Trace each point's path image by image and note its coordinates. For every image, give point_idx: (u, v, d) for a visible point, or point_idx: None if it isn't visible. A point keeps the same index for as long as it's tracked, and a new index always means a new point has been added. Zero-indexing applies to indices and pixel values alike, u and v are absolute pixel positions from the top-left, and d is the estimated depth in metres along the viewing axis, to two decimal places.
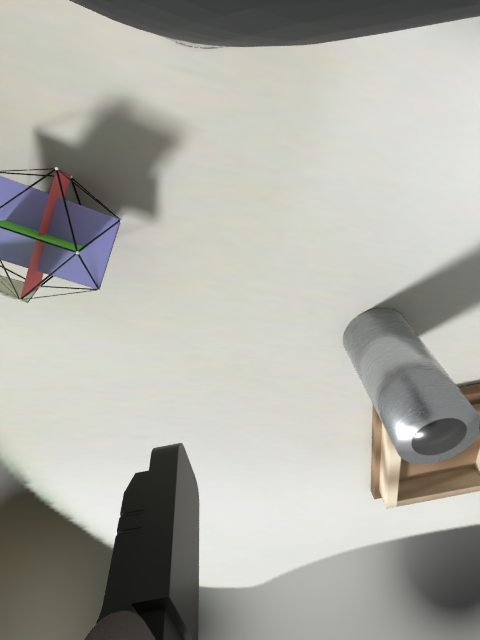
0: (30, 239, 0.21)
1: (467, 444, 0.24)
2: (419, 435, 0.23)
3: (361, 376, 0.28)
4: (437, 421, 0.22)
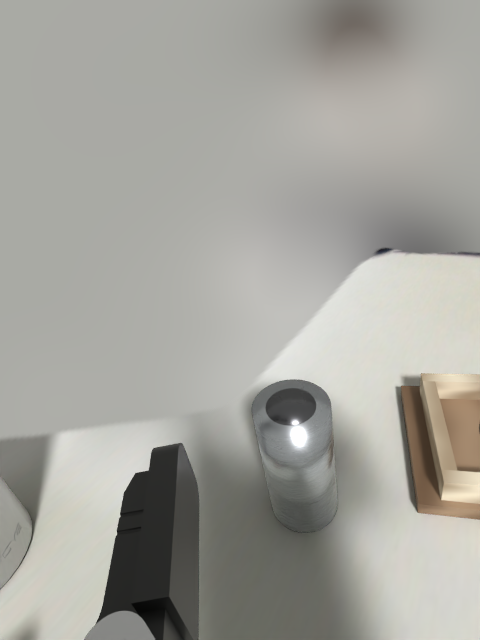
0: None
1: (312, 386, 0.26)
2: (279, 419, 0.24)
3: (294, 497, 0.26)
4: (267, 407, 0.25)
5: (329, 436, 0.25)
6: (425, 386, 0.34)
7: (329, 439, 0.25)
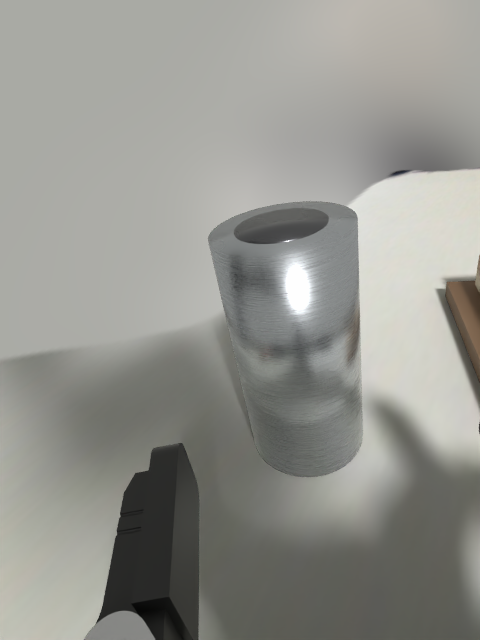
0: None
1: (320, 204, 0.15)
2: (258, 238, 0.13)
3: (289, 403, 0.14)
4: (236, 231, 0.14)
5: (354, 275, 0.13)
6: None
7: (354, 282, 0.13)
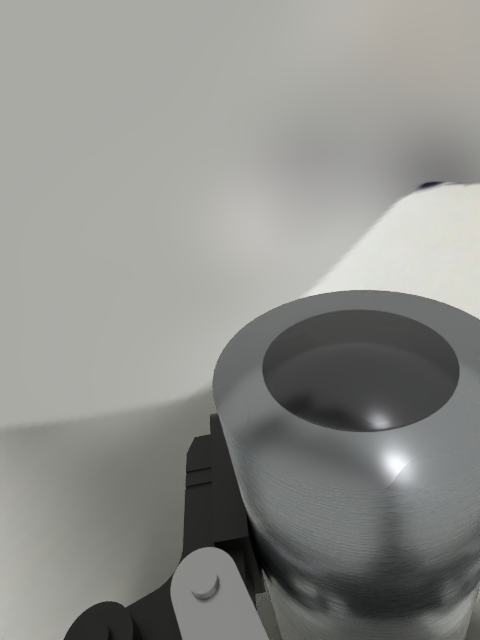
0: None
1: (417, 303, 0.08)
2: (317, 407, 0.06)
3: None
4: (268, 367, 0.07)
5: None
6: None
7: None
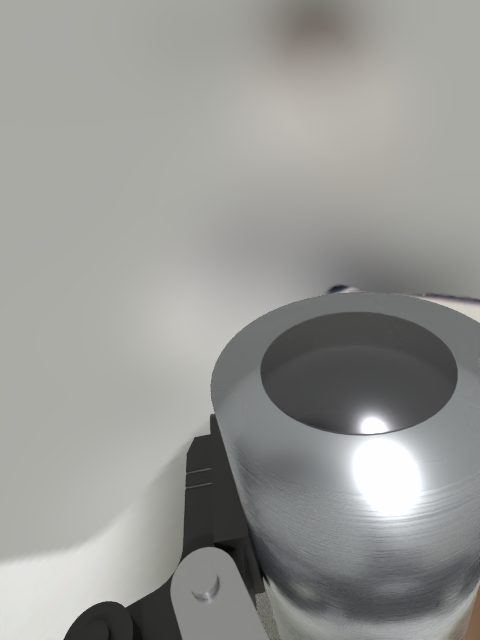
0: None
1: (416, 305, 0.08)
2: (315, 410, 0.06)
3: None
4: (266, 370, 0.07)
5: None
6: None
7: None
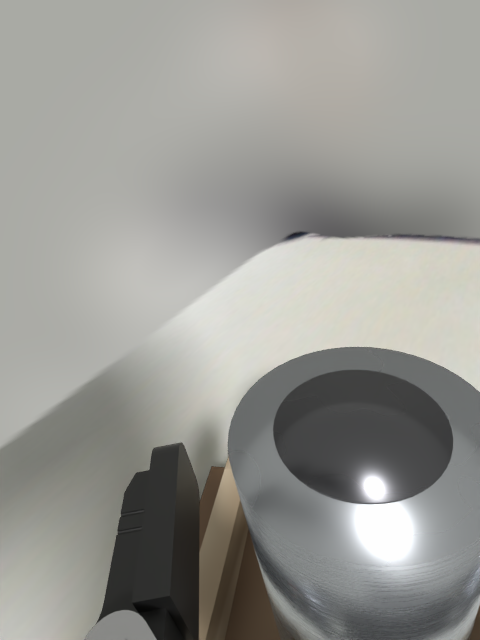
0: None
1: (415, 364, 0.09)
2: (324, 477, 0.07)
3: None
4: (278, 431, 0.08)
5: None
6: (223, 482, 0.16)
7: None
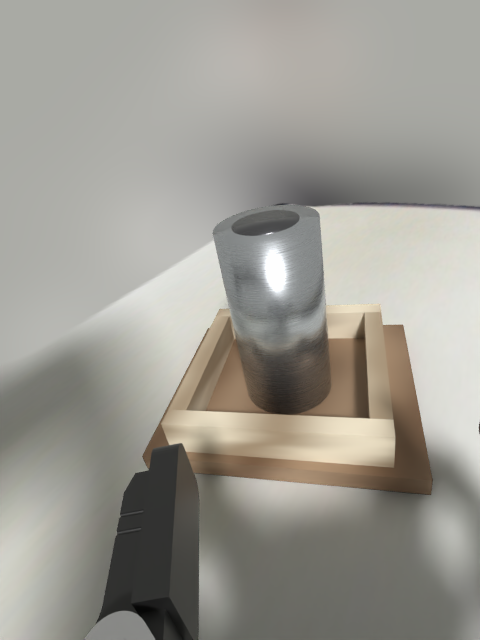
0: None
1: (296, 207, 0.20)
2: (248, 231, 0.18)
3: (271, 354, 0.20)
4: (233, 226, 0.19)
5: (317, 259, 0.18)
6: (214, 321, 0.27)
7: (317, 264, 0.18)
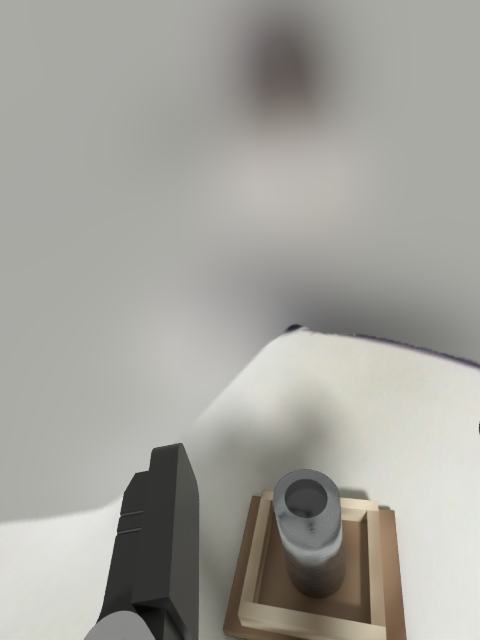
0: None
1: (324, 477, 0.31)
2: (296, 511, 0.29)
3: (308, 572, 0.31)
4: (285, 498, 0.30)
5: (338, 524, 0.29)
6: (260, 505, 0.39)
7: (338, 527, 0.29)
